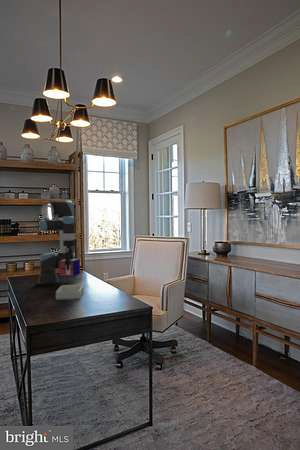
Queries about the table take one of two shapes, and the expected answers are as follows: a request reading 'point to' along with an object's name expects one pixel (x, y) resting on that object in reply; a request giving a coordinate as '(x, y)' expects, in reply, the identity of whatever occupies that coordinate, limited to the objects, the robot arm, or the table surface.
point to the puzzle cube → (73, 267)
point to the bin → (69, 292)
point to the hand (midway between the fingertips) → (69, 273)
